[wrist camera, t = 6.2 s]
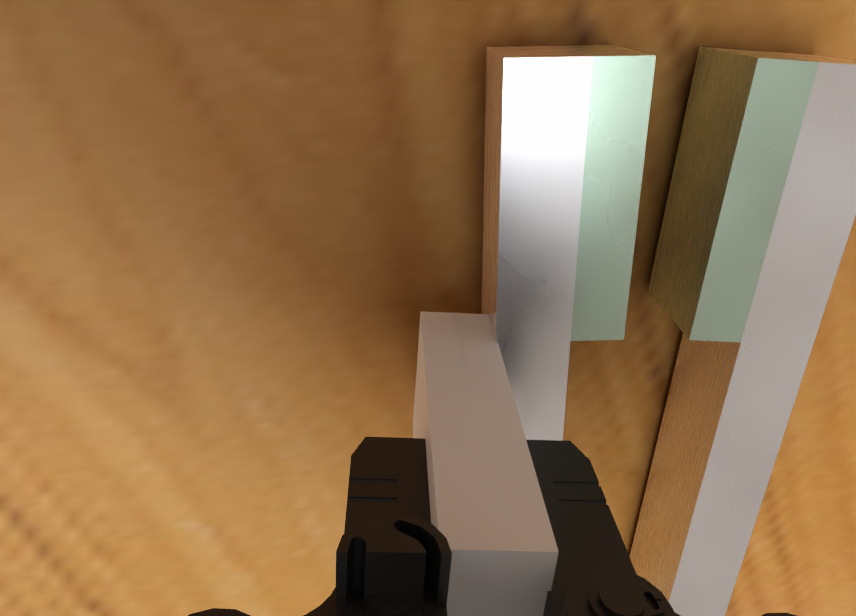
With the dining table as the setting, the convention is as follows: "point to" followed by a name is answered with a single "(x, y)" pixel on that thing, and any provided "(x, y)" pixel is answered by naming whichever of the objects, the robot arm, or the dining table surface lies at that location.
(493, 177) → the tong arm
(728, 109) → the tongs base
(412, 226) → the dining table surface
